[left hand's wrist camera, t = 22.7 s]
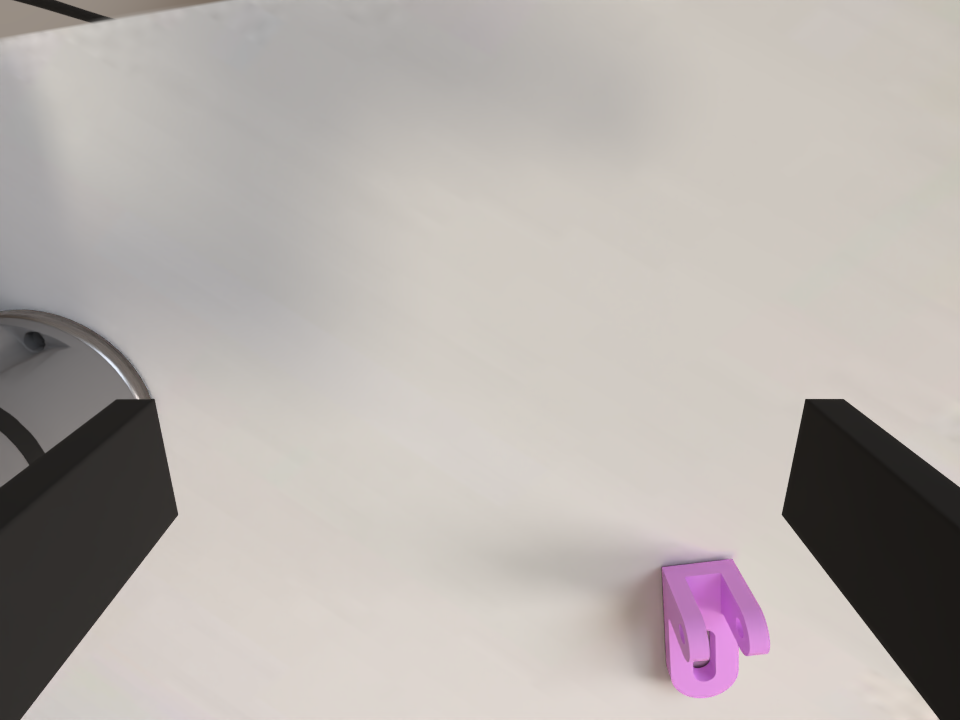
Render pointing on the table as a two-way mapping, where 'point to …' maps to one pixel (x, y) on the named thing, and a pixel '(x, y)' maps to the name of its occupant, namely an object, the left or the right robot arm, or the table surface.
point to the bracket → (709, 625)
